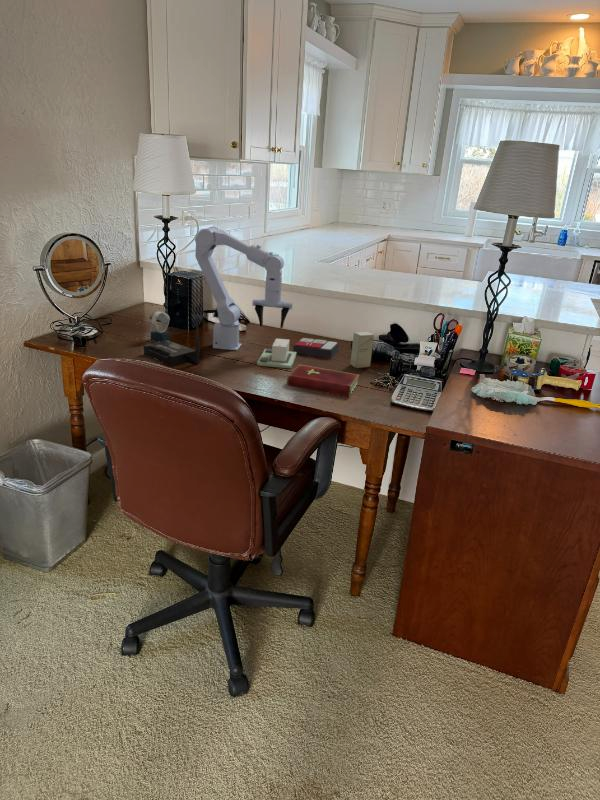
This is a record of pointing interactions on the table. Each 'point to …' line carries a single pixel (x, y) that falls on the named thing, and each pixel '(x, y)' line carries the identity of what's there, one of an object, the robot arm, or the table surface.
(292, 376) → the hardcover book
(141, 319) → the table surface
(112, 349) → the table surface
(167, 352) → the grey and black stand
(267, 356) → the pcb board
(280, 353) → the block
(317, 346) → the calculator
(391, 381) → the table surface
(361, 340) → the skincare box
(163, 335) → the watch
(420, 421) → the table surface
